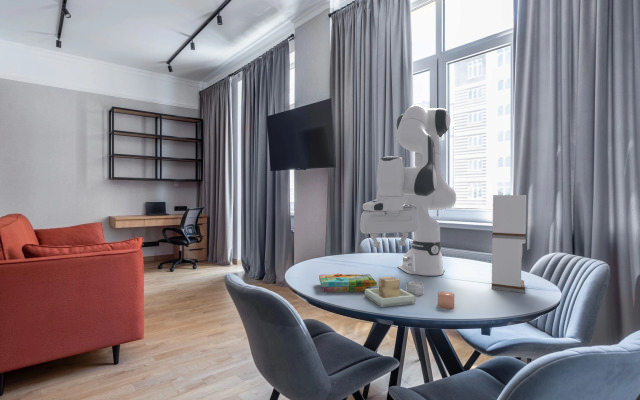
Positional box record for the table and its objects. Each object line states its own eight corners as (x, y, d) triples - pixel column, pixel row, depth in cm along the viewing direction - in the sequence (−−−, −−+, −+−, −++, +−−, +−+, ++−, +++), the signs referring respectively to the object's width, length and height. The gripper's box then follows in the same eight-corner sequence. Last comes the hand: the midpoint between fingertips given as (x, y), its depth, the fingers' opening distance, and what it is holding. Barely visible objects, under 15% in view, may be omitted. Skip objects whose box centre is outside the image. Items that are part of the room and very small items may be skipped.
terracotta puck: (434, 304, 111) (434, 292, 111) (447, 303, 113) (447, 290, 113) (444, 309, 107) (444, 296, 107) (457, 308, 108) (458, 295, 108)
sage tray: (364, 296, 120) (365, 289, 120) (395, 293, 123) (395, 286, 123) (381, 307, 108) (381, 299, 108) (415, 303, 112) (415, 295, 112)
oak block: (378, 295, 118) (378, 277, 117) (391, 293, 119) (391, 276, 119) (386, 299, 113) (386, 281, 113) (399, 298, 114) (399, 280, 114)
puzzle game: (319, 272, 135) (369, 272, 137) (319, 284, 135) (369, 284, 137) (321, 280, 124) (376, 279, 125) (321, 293, 124) (376, 292, 125)
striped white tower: (524, 293, 124) (526, 195, 124) (491, 288, 130) (493, 195, 129) (523, 285, 134) (525, 195, 133) (493, 282, 139) (494, 194, 139)
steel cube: (406, 293, 123) (406, 282, 123) (414, 292, 125) (414, 281, 125) (415, 296, 120) (415, 285, 120) (423, 295, 122) (423, 283, 122)
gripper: (411, 204, 121) (411, 243, 122) (358, 204, 115) (357, 246, 116) (422, 205, 115) (421, 246, 116) (366, 205, 109) (365, 249, 110)
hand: (389, 246), depth 116 cm, fingers open, 8 cm apart
